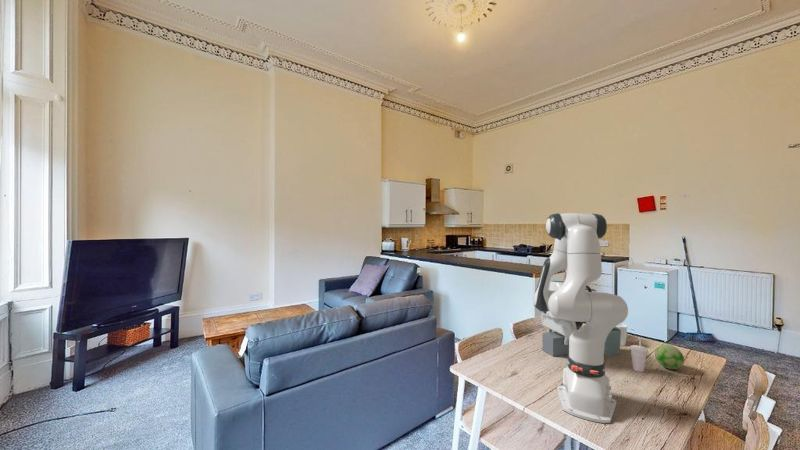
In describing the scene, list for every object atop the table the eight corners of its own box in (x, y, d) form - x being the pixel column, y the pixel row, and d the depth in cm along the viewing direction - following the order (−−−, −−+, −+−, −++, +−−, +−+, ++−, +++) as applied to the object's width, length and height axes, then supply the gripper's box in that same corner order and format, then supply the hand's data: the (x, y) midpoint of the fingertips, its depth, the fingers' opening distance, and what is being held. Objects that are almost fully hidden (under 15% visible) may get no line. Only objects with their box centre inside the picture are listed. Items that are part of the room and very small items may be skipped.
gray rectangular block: (553, 356, 149) (553, 338, 149) (542, 350, 156) (542, 332, 156) (573, 353, 152) (573, 336, 152) (562, 347, 159) (562, 330, 159)
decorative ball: (653, 368, 138) (653, 345, 137) (656, 360, 145) (656, 339, 145) (683, 376, 131) (683, 352, 131) (684, 368, 138) (685, 345, 138)
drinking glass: (621, 357, 148) (622, 332, 148) (596, 352, 153) (596, 328, 153) (620, 350, 157) (620, 326, 156) (596, 345, 162) (596, 322, 162)
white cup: (605, 341, 168) (605, 322, 168) (616, 339, 170) (616, 321, 170) (619, 347, 160) (619, 327, 160) (630, 345, 163) (630, 326, 163)
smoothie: (651, 374, 132) (651, 341, 132) (634, 372, 134) (634, 340, 133) (642, 367, 139) (642, 335, 138) (626, 365, 140) (626, 334, 140)
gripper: (580, 319, 145) (580, 348, 145) (549, 307, 164) (549, 333, 165) (569, 320, 143) (569, 350, 143) (539, 307, 163) (539, 334, 163)
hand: (558, 340), depth 154 cm, fingers open, 8 cm apart
